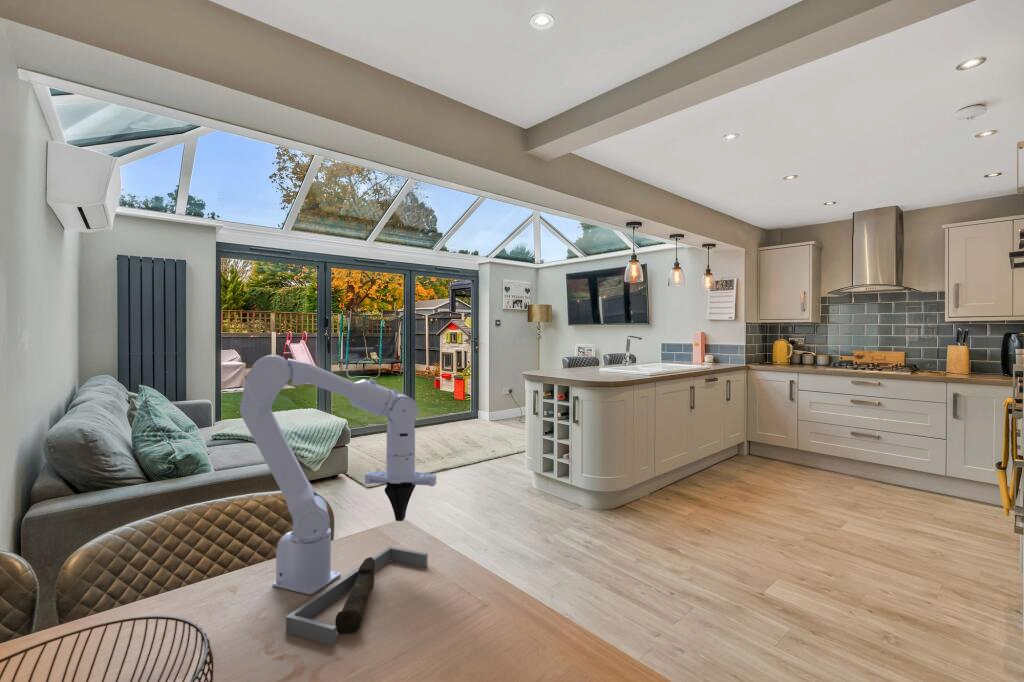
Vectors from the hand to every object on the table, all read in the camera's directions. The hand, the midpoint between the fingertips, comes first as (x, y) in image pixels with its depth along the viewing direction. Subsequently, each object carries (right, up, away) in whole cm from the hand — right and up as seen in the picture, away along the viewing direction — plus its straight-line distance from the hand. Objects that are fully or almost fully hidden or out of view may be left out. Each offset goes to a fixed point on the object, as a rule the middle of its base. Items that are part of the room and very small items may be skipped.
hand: (400, 519), depth 97 cm
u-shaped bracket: (-3, -9, -12) cm, 15 cm away
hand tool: (-4, -10, -14) cm, 18 cm away
